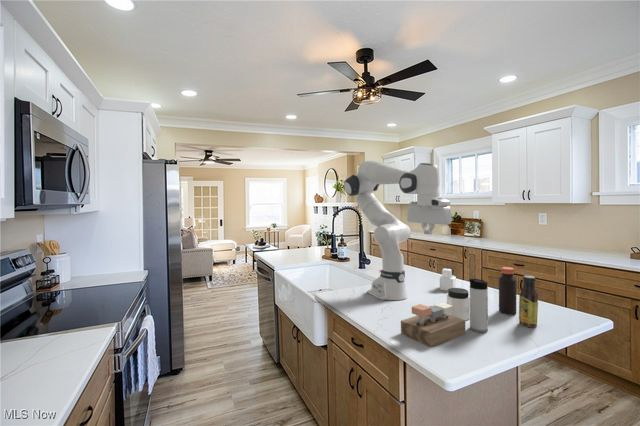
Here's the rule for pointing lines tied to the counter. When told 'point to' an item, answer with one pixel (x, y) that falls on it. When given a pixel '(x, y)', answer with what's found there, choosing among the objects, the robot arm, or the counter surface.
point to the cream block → (445, 308)
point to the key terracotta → (421, 312)
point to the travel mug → (478, 305)
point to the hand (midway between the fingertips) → (428, 234)
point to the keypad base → (433, 329)
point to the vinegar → (507, 291)
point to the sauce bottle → (528, 303)
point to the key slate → (435, 313)
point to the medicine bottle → (447, 279)
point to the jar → (459, 303)
